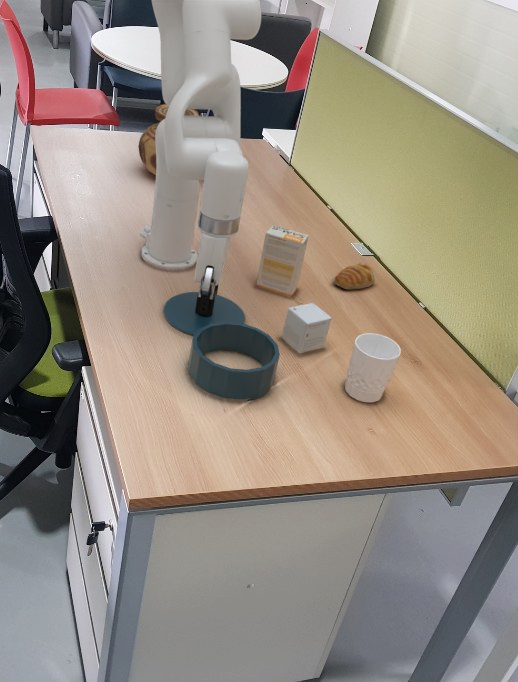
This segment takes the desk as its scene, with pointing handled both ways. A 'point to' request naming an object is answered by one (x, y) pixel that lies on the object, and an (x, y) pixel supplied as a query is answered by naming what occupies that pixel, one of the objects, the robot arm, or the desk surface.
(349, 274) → the pastry
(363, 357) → the white cup
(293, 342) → the product box
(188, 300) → the pot lid
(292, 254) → the supplement box
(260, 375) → the pot
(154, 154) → the clay pot
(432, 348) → the desk surface
